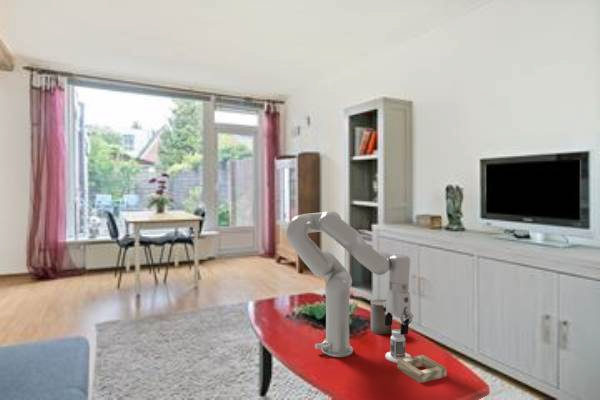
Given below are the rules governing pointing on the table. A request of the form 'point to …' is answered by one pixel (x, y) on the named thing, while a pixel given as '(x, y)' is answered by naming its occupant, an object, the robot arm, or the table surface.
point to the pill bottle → (397, 344)
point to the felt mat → (395, 360)
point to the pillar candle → (378, 318)
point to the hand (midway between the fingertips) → (396, 329)
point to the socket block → (428, 374)
